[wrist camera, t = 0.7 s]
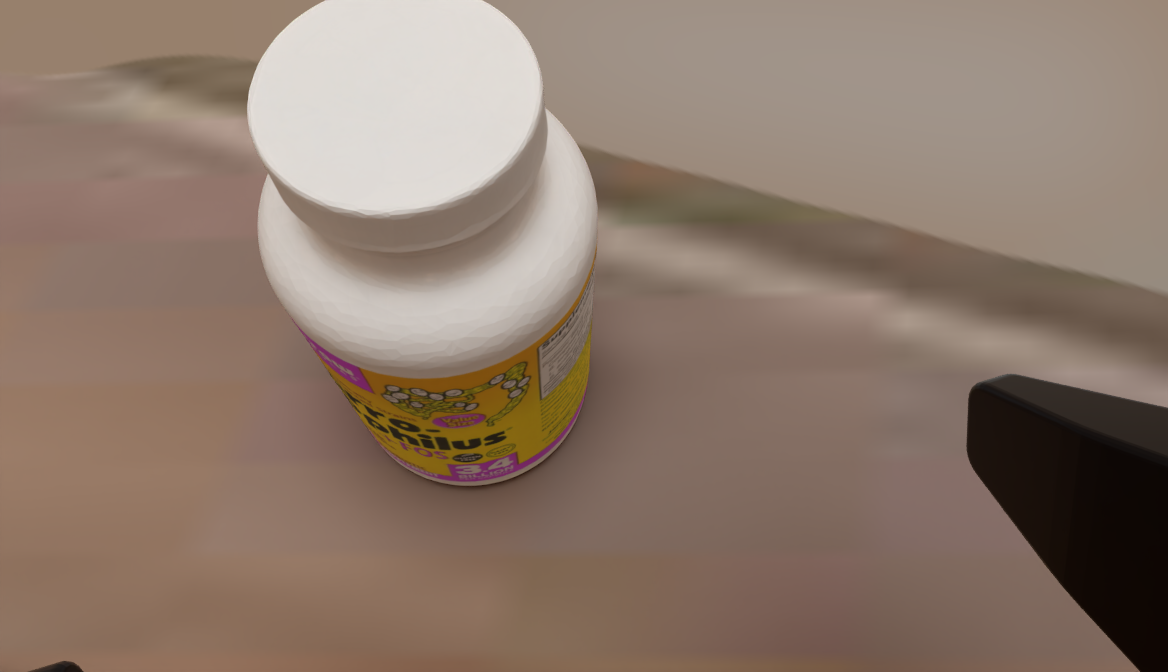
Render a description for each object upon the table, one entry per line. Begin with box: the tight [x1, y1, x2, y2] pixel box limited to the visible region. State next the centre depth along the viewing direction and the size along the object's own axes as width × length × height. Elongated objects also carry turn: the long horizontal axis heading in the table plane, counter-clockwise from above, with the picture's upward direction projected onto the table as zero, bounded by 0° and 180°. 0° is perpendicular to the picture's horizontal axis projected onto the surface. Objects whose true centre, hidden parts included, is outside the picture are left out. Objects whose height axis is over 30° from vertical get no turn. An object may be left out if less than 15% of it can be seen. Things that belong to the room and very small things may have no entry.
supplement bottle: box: [247, 0, 598, 486], centre depth 19 cm, size 7×7×13 cm
